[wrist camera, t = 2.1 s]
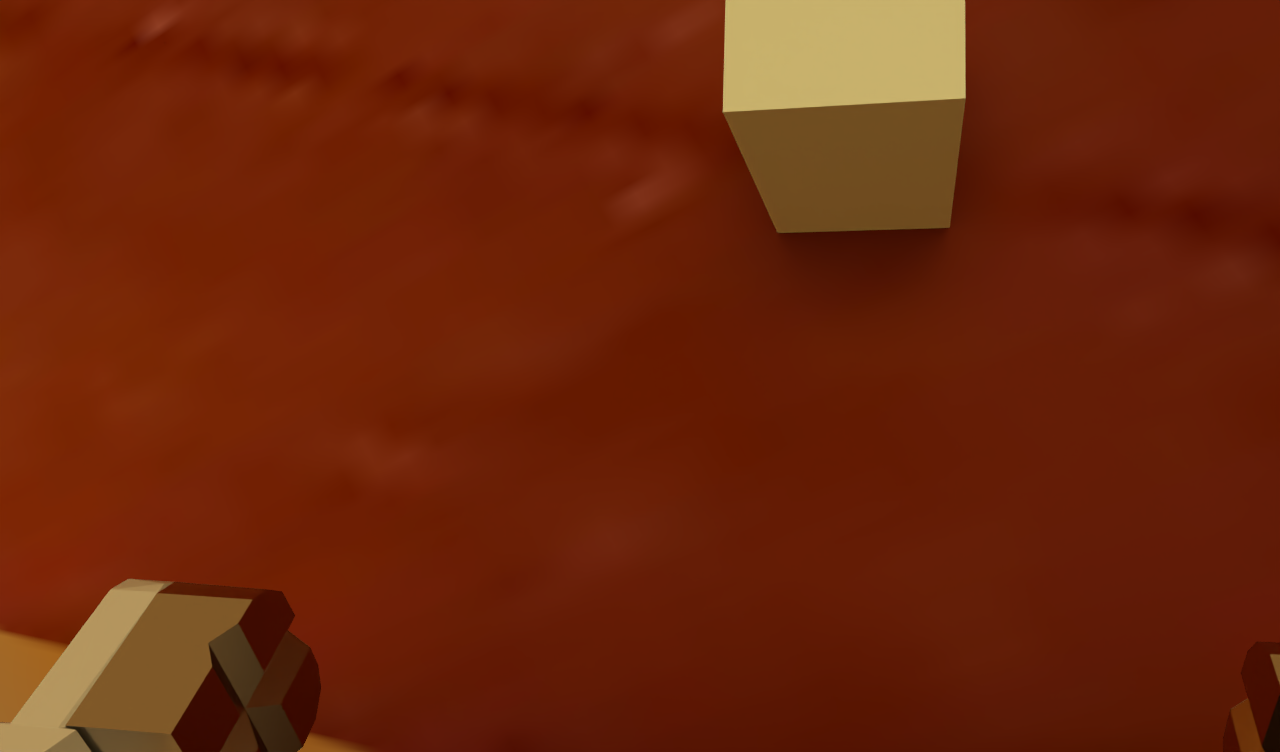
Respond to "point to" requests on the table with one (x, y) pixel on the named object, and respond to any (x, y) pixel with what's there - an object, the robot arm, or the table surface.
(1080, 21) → the table surface
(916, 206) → the beige rectangular block
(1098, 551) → the table surface
